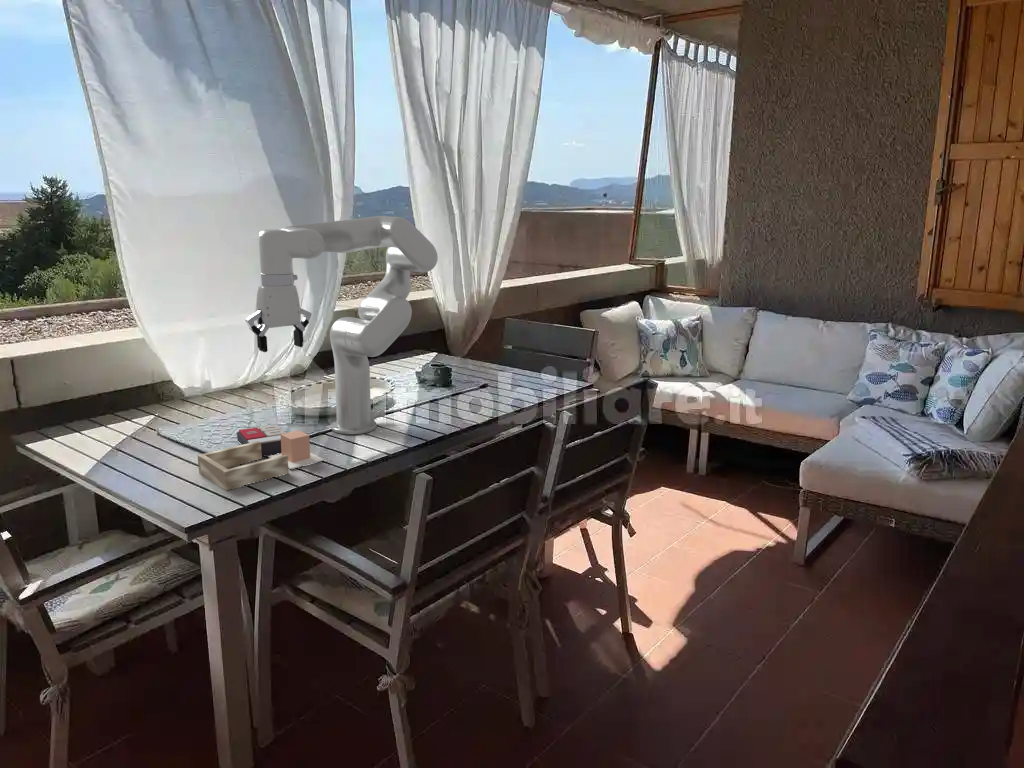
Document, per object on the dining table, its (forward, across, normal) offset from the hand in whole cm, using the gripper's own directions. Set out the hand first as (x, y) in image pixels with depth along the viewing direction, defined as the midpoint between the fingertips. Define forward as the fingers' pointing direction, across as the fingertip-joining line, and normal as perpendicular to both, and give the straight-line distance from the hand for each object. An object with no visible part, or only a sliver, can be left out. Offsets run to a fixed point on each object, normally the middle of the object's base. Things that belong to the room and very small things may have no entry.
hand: (281, 348), depth 185 cm
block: (+26, +3, +10) cm, 28 cm away
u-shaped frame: (+26, +16, +10) cm, 32 cm away
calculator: (+27, +4, -5) cm, 28 cm away
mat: (+26, +3, +10) cm, 28 cm away
